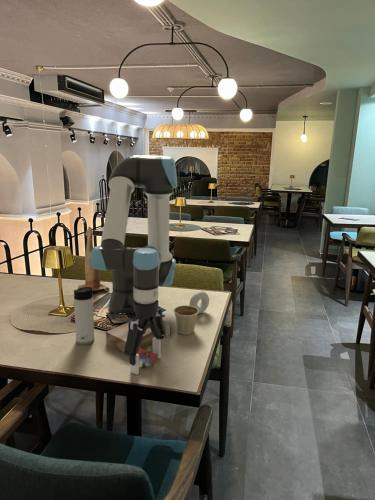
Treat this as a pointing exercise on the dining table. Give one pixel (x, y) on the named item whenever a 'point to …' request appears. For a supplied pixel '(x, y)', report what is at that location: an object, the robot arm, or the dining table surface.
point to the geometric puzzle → (147, 356)
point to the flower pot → (186, 318)
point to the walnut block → (119, 337)
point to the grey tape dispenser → (167, 326)
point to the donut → (204, 301)
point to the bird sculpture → (90, 272)
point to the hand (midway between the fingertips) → (145, 364)
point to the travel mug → (84, 315)
